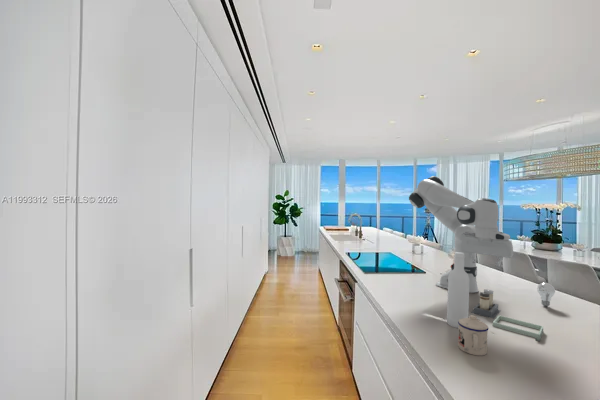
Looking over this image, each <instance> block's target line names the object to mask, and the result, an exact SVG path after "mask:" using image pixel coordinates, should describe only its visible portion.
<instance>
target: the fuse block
mask: <svg viewBox="0 0 600 400" xmlns="http://www.w3.org/2000/svg"><path fill="white" fill-rule="evenodd" d="M501 311H502V310H501V309H499V304H497V303H493V307H491V306H489V311H488V310H484V309H480V302H479V303H477V304H476V305H475V306H474V307H473V310H472V311H470V313H471V314H473V315H474V314H475V315H479V316H481V317H482V316H483V317H486V318H490V319H494V320H495V319H496V318H497V317H498V316H499V314H500V312H501Z"/></svg>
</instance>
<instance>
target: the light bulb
mask: <svg viewBox="0 0 600 400" xmlns="http://www.w3.org/2000/svg"><path fill="white" fill-rule="evenodd" d="M536 289H537V293H538V294H539V296H540V299H541V302H540V303H541V305H542V306H543V307H545V308H548V307H550V305H551V301H552V298H553V297H554V296H555V294H556V288H555V287H554V286H553V285H552V284H550V283H549V282H541V283H539V284H538V285H537V288H536Z"/></svg>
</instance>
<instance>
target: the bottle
mask: <svg viewBox="0 0 600 400" xmlns="http://www.w3.org/2000/svg"><path fill="white" fill-rule="evenodd" d="M453 258H454V260H453V261H454V262H453V263H454V269H453V270H452V271H451V272H450V273H449V276H448V289H447V305H446V306H447V307H446V323H447V324H448V325H449V326H450V327H453V328H456V329H459V324H458V321H459V320H460V319H462V318H468V317H469V309H470V308H469V303H470V293H469V276H468V274H467V273H466V272H465V271H464V258H465V256H464V253H461V252H455V251H454V255H453Z"/></svg>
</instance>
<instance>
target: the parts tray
mask: <svg viewBox="0 0 600 400" xmlns="http://www.w3.org/2000/svg"><path fill="white" fill-rule="evenodd" d="M500 320H501V321H504V322H509V323H512V324H516V325H520V326H523V327H528V328H532V329H535V330H539V331H538V333H537V332H533V331H529V330H524V329H522V328H518V327H513V326H510V325H506V324H502V323H500V322H499V321H500ZM492 327H495V328H499V329H503V330H506V331H510V332H514V333H517V334H520V335H524V336H528V337H531V338H534V339H535V341H536V342H540V341H541V339H542V336H543V334H544V326H543V325H539V324H535V323H533V322H532V323H531V322H527V321H523V320H519V319H515V318H512V317H508V316H504V315H499V314H498V315H497V316H496V317H495V318H494V320H493V322H492Z"/></svg>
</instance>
